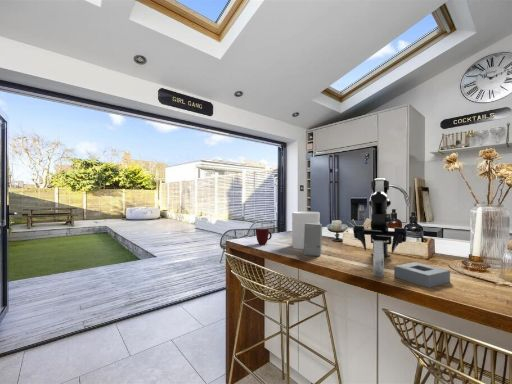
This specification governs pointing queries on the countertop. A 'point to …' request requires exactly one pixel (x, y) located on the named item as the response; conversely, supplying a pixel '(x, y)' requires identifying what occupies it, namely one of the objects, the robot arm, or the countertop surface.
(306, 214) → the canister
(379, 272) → the steel peg
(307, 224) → the skincare box
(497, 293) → the countertop surface
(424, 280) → the hole block
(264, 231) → the mug
